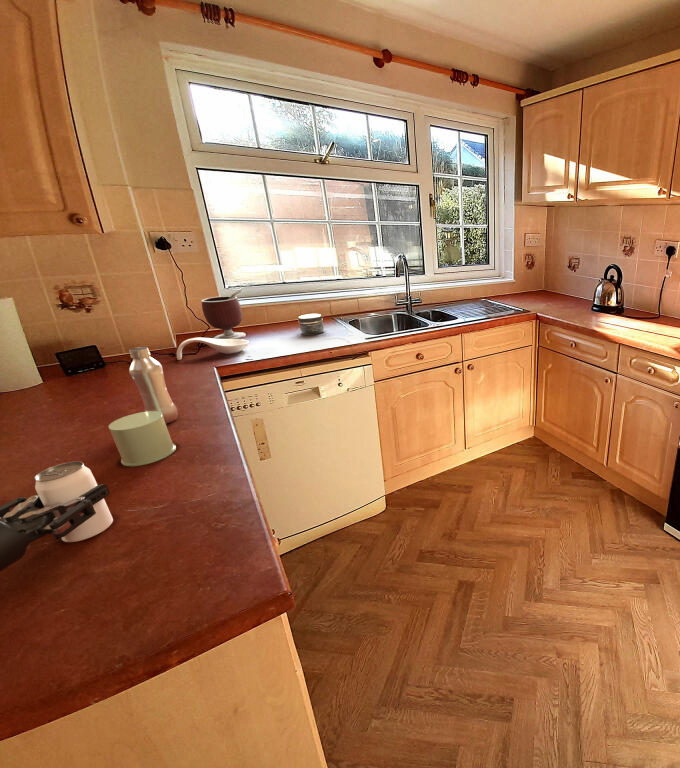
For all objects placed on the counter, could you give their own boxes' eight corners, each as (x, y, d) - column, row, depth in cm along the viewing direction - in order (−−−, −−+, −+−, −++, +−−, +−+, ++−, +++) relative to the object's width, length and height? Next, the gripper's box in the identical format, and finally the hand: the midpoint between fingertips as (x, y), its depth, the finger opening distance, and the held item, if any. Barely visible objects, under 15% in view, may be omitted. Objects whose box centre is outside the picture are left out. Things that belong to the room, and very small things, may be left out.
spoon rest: (249, 345, 175) (245, 328, 172) (251, 352, 166) (247, 334, 163) (179, 356, 163) (173, 338, 160) (177, 364, 154) (170, 345, 151)
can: (93, 542, 69) (62, 480, 65) (51, 545, 69) (17, 483, 64) (123, 516, 75) (97, 458, 71) (85, 519, 75) (56, 461, 70)
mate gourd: (208, 343, 179) (194, 295, 171) (215, 335, 191) (202, 290, 183) (249, 338, 184) (237, 292, 177) (253, 331, 196) (243, 288, 189)
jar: (328, 332, 193) (325, 315, 190) (306, 336, 186) (302, 319, 184) (319, 328, 200) (316, 312, 197) (297, 332, 193) (294, 316, 190)
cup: (139, 471, 88) (123, 433, 85) (112, 463, 92) (96, 426, 88) (186, 449, 97) (174, 414, 93) (159, 442, 100) (147, 407, 97)
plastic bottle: (147, 430, 106) (118, 354, 98) (151, 420, 111) (123, 347, 103) (179, 424, 109) (153, 350, 101) (181, 414, 114) (156, 343, 107)
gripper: (-6, 543, 54) (118, 470, 70) (-103, 538, 55) (39, 467, 71) (21, 587, 57) (134, 507, 72) (-72, 580, 58) (58, 503, 74)
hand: (87, 487), depth 72 cm, fingers closed on can, 6 cm apart
